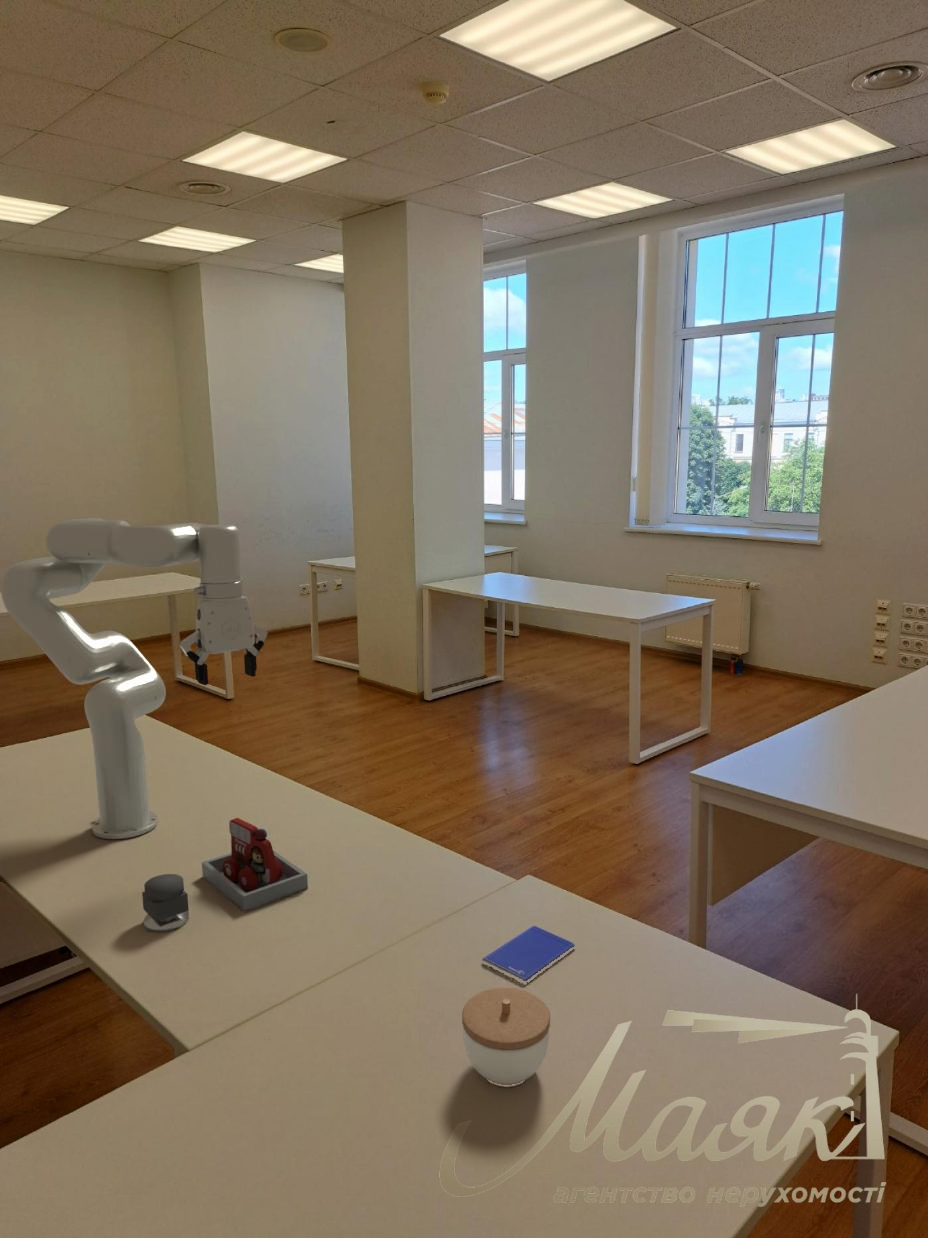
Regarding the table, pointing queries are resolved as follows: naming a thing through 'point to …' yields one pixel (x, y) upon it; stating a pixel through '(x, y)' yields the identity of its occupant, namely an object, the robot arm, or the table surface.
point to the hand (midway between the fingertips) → (227, 679)
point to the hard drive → (528, 953)
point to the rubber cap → (165, 897)
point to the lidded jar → (506, 1034)
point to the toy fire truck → (250, 857)
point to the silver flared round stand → (166, 923)
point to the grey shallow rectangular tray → (264, 893)
